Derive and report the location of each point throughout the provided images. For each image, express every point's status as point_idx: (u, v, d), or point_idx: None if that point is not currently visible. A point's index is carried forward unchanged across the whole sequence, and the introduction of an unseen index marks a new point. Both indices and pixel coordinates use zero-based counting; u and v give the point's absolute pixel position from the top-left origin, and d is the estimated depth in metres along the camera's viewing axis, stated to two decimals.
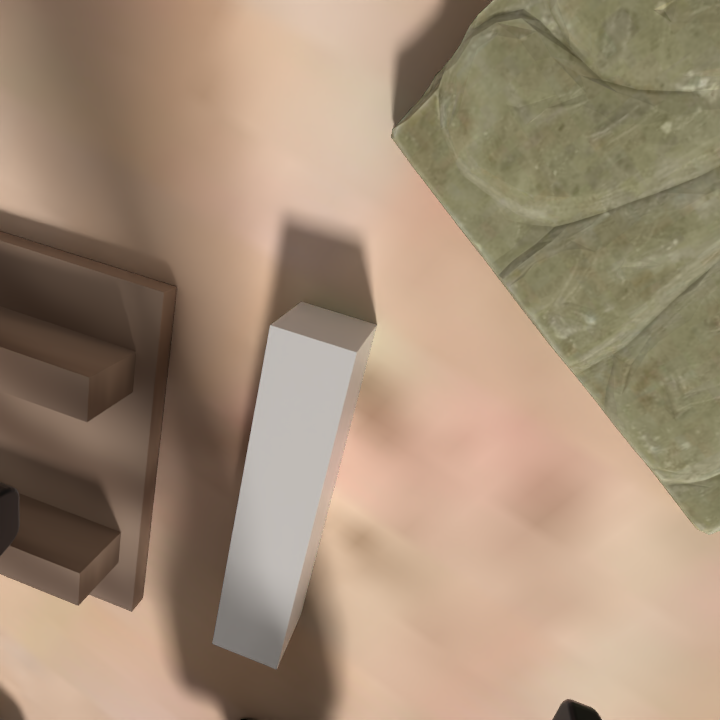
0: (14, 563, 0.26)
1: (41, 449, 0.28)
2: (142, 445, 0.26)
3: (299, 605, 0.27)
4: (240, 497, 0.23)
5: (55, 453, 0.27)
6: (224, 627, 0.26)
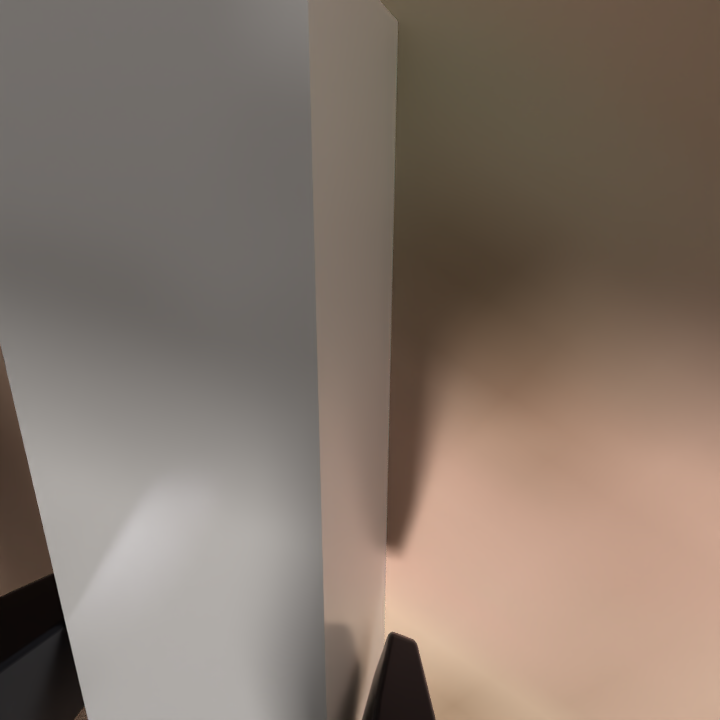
0: None
1: None
2: None
3: None
4: (83, 678, 0.07)
5: None
6: None
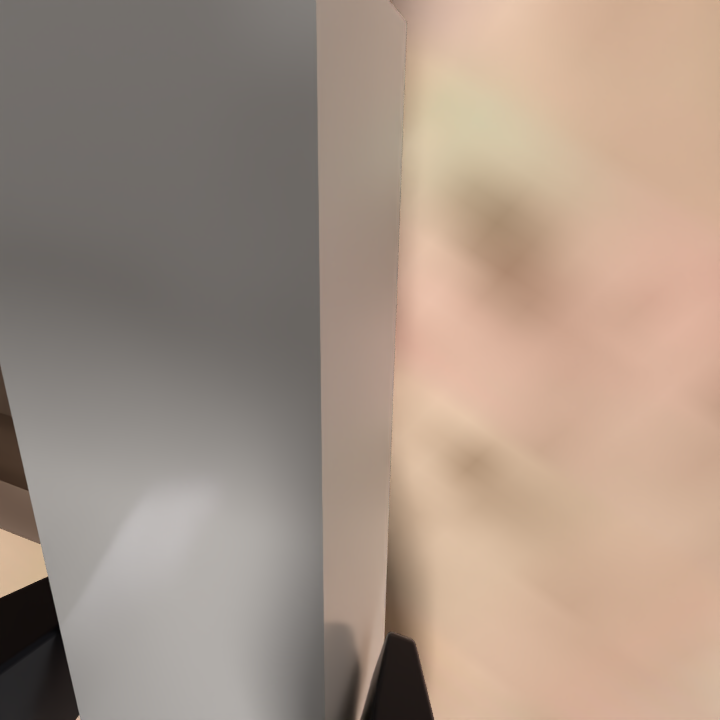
0: None
1: None
2: None
3: None
4: (77, 684, 0.07)
5: None
6: None
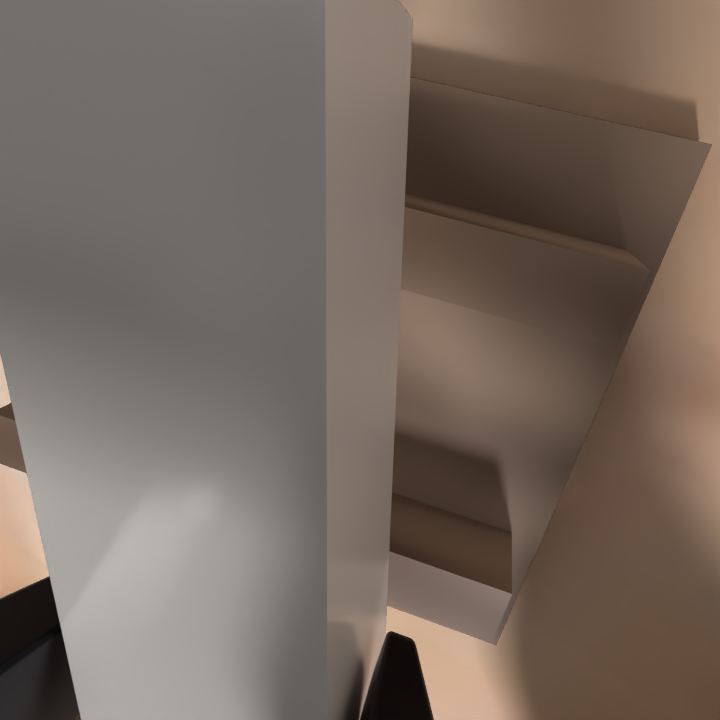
0: (395, 579, 0.18)
1: (407, 413, 0.19)
2: (590, 400, 0.17)
3: None
4: (77, 683, 0.07)
5: (430, 418, 0.19)
6: None
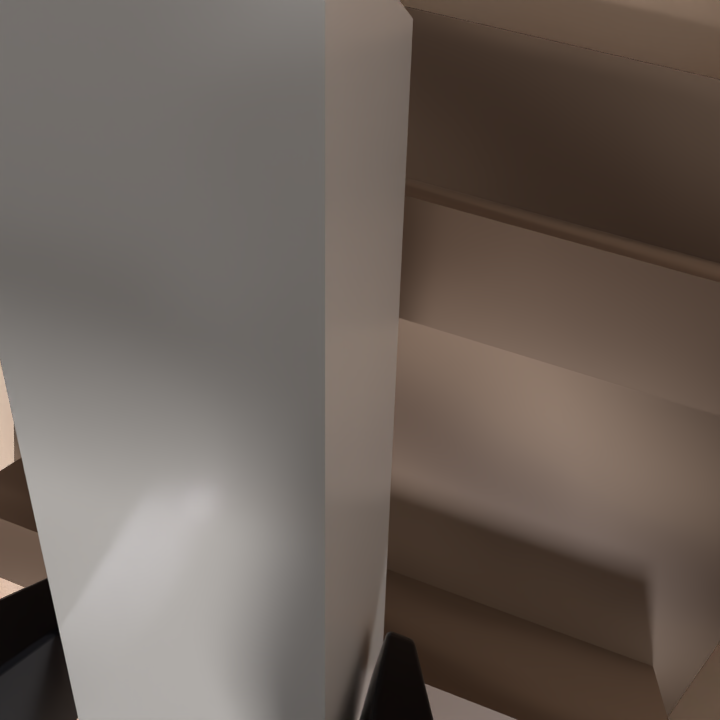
0: None
1: (522, 511, 0.14)
2: None
3: None
4: (75, 682, 0.07)
5: (554, 519, 0.14)
6: None
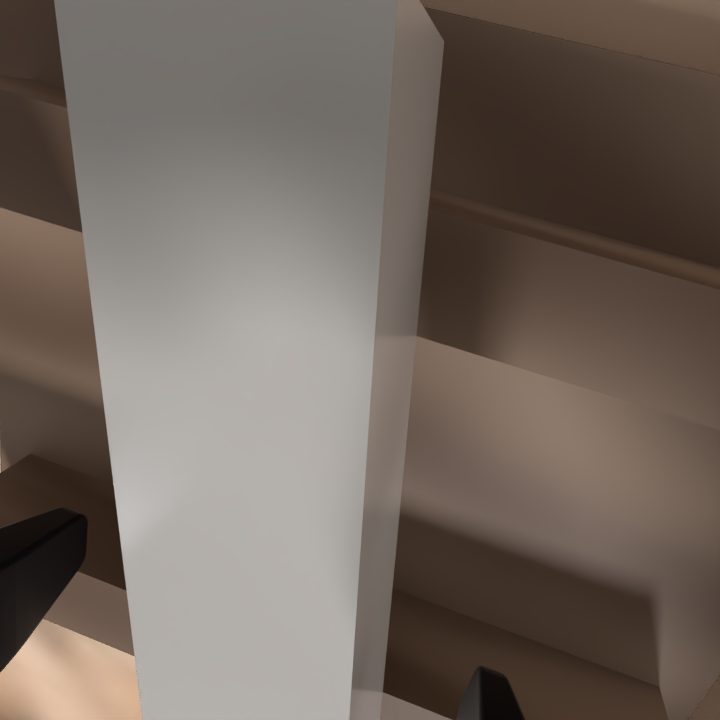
0: None
1: (523, 526, 0.14)
2: None
3: None
4: (133, 610, 0.08)
5: (556, 534, 0.13)
6: None
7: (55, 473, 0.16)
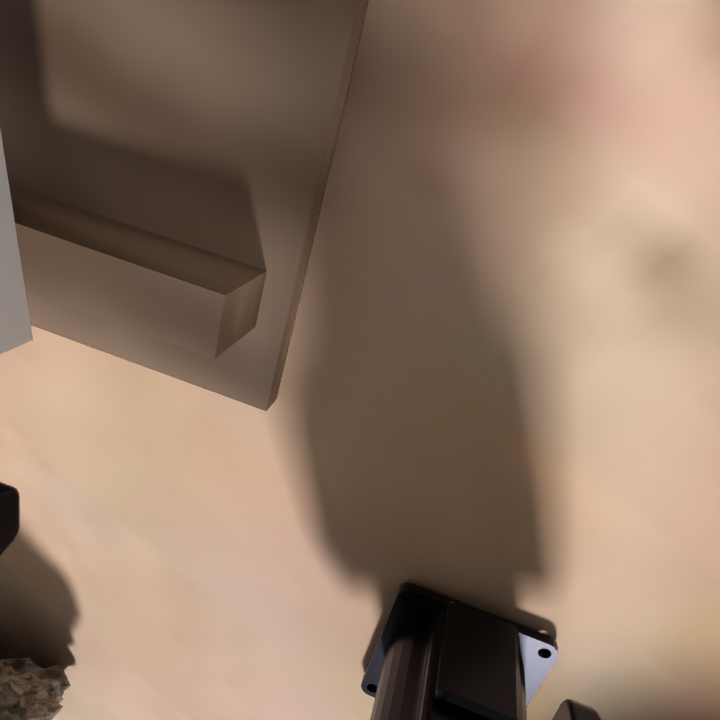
0: (112, 289, 0.16)
1: (149, 129, 0.18)
2: (326, 97, 0.16)
3: None
4: None
5: (172, 133, 0.17)
6: None
7: None
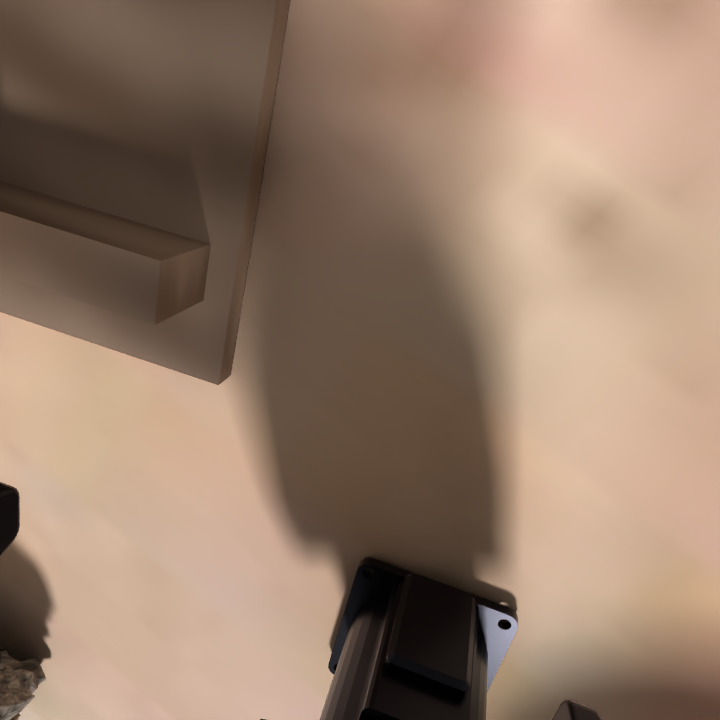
0: (55, 260, 0.17)
1: (93, 109, 0.18)
2: (256, 70, 0.17)
3: None
4: None
5: (115, 112, 0.18)
6: None
7: None
